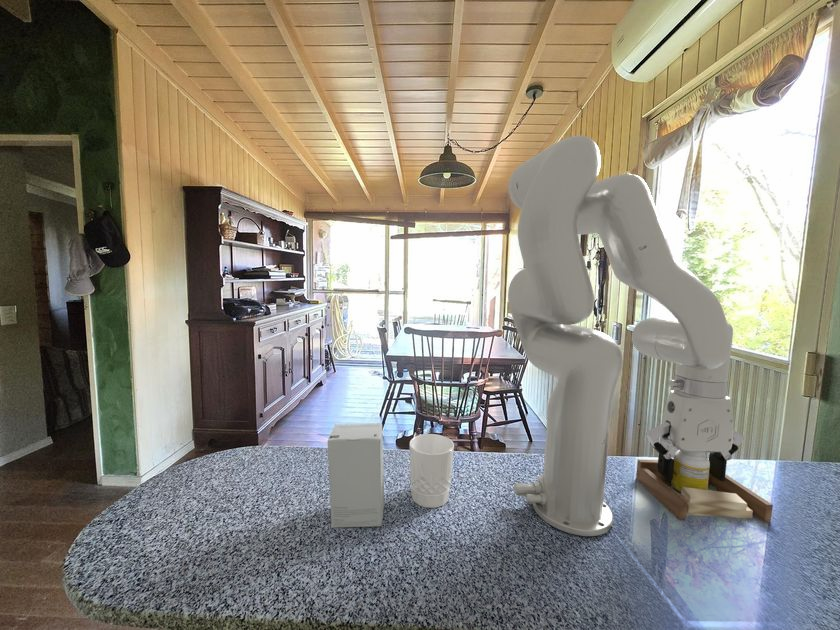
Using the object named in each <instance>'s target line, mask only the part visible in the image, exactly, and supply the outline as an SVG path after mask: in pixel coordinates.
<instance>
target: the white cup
mask: <svg viewBox="0 0 840 630" xmlns="http://www.w3.org/2000/svg"><path fill="white" fill-rule="evenodd" d="M408 445H409V471H410V478H409V479H410V490H411V492H410V493H411V498H412V500H413V502H414V503H416V505H418V506H420V507H424V508H426V509H428V508H430V509H433V508H434V509H436V508H440V507H443V506H444V505H445V504H447V503H448V502H449V499H450V498H449V497H450V487H451V483H452V475H453V464H454V463H453V462H454V451H455V450H454V449H455V443H454V441H453V440H452V439H450V438H449V437H447V436H444V435H442V434H441V435H440V434H434V433H426V434H419V435H416V436H414V437H412V438H411V439H410V441H409V444H408Z"/></svg>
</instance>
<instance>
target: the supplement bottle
mask: <svg viewBox="0 0 840 630" xmlns="http://www.w3.org/2000/svg"><path fill="white" fill-rule="evenodd" d="M706 454H707V452H685V451H681V450H678V451H677V452H676V453H675V454H674V455H673V456H672V459H674V472H673V479H672V480H671V483H670V488H671V489H672V490H673V491H674V492H675V493H677V494H678V495H682V494H681V490H682V487H687V488H695V489H703V490H708V489H709V488H708V487H709V484H708V478H709V468H710V462H709V458H707V457H706Z"/></svg>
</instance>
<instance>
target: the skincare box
mask: <svg viewBox="0 0 840 630" xmlns="http://www.w3.org/2000/svg"><path fill="white" fill-rule="evenodd" d="M383 435H384V434H383V423H381V422H380V423H356V424H355V423H354V424H351V423H349V424H334V426H333V428H332V430H331V433H330V435H329V437H328V439H327V456H328V457H327V459H328V479H329V480H328V482H329V500H330V501H329V504H330V526H331V528H335V529H336V528H337V529H338V528H361V527H362V528H365V527H366V528H367V527H368V528H369V527H382V525H383V519H384V508H385V477H384V476H385V472H384V439H383V438H384V437H383Z"/></svg>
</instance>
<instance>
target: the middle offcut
mask: <svg viewBox="0 0 840 630" xmlns="http://www.w3.org/2000/svg"><path fill="white" fill-rule="evenodd" d="M678 495H679V494H678ZM679 496H680V497H681V498H683V499H684V500H685V501H686V502H687V508H686V511H687V512H688V513H697V514H708V515H720V516H731V517H730V518H735V517H743V518H742V519H753V511H752V510H751V509H750V508H749V507H747V509H746V511H743V510H735V509H728V508H720V507H713V506H705V505H698V504H690V503H689V502H688V501H687V500H686V499H685V498H684V496H683V495H679Z"/></svg>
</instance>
